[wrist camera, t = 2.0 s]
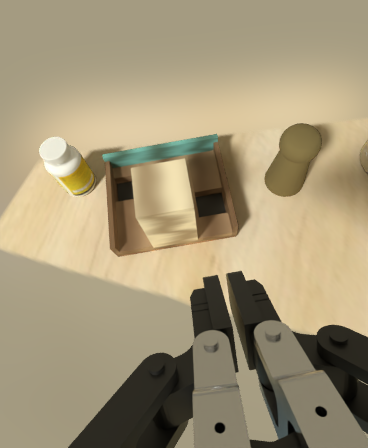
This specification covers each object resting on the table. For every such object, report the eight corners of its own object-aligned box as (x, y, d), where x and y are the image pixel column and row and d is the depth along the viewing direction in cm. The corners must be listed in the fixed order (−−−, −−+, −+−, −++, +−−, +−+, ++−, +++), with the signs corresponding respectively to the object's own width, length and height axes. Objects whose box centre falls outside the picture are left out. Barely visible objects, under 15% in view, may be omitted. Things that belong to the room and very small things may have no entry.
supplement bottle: (102, 175, 50) (78, 138, 41) (87, 201, 49) (59, 169, 40) (75, 166, 52) (46, 128, 43) (59, 192, 50) (26, 158, 41)
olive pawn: (296, 202, 46) (321, 161, 35) (259, 188, 47) (272, 146, 37) (308, 170, 47) (334, 123, 37) (271, 159, 49) (287, 110, 39)
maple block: (190, 200, 45) (185, 158, 35) (198, 240, 42) (194, 207, 32) (148, 207, 45) (130, 168, 35) (153, 247, 43) (135, 217, 32)
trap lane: (216, 153, 50) (217, 133, 45) (236, 236, 44) (239, 223, 40) (112, 171, 50) (102, 154, 46) (118, 256, 45) (107, 246, 40)
